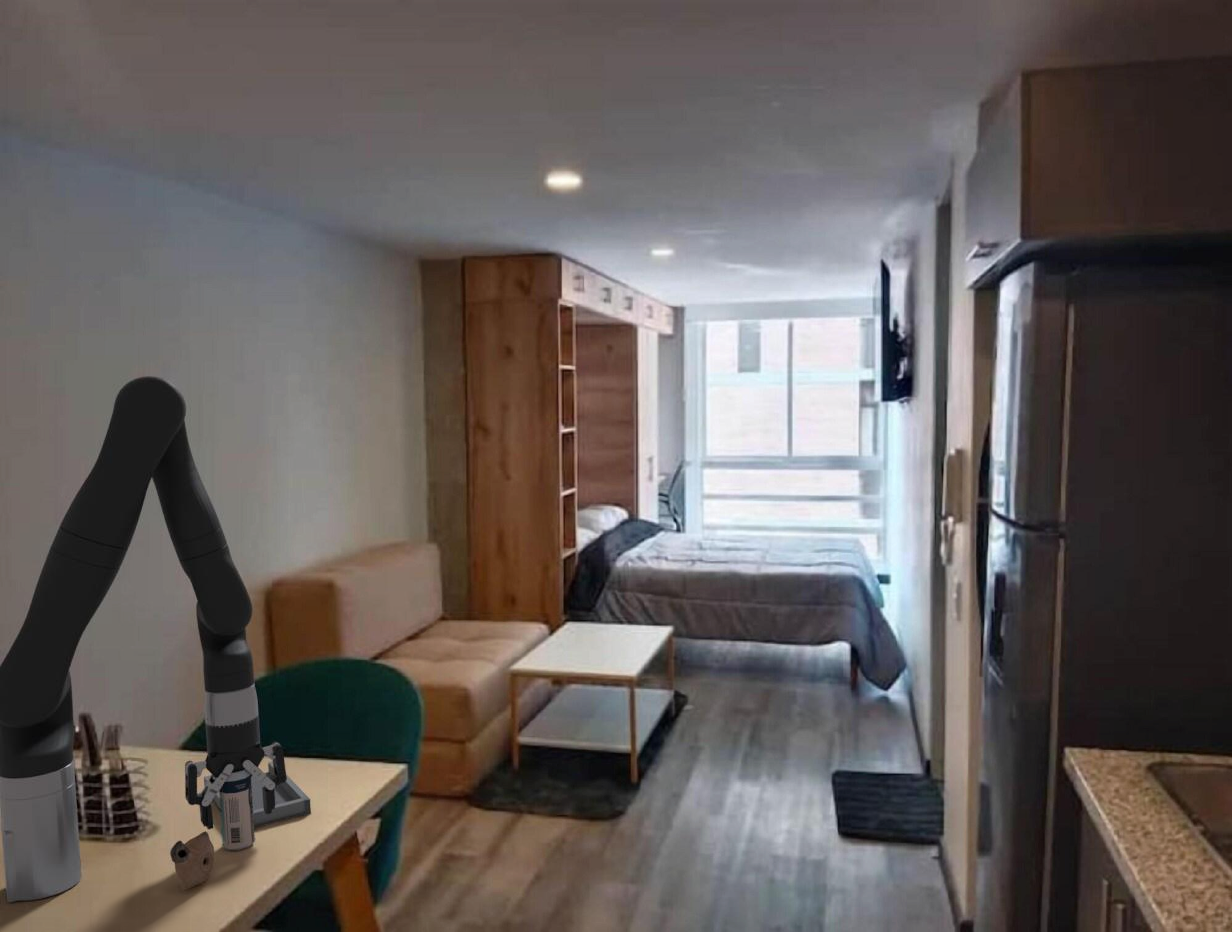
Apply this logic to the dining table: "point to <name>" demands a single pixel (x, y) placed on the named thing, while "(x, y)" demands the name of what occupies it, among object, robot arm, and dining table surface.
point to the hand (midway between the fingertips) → (239, 819)
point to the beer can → (237, 811)
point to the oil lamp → (193, 860)
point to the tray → (286, 801)
